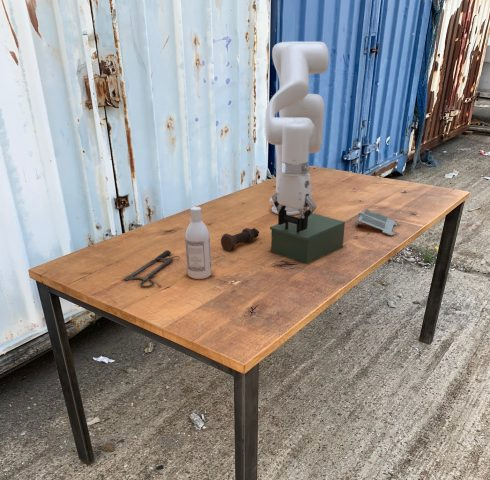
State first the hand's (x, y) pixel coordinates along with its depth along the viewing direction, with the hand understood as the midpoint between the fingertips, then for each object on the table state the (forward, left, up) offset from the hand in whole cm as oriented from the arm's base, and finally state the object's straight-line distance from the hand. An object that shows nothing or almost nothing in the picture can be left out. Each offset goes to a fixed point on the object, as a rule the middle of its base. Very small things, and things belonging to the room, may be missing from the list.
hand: (292, 226), depth 154 cm
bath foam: (-11, -29, -10) cm, 32 cm away
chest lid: (0, +8, -2) cm, 8 cm away
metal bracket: (+5, +41, -10) cm, 43 cm away
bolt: (-19, -3, -10) cm, 22 cm away
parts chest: (0, +8, -10) cm, 13 cm away
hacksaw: (-23, -35, -10) cm, 43 cm away
